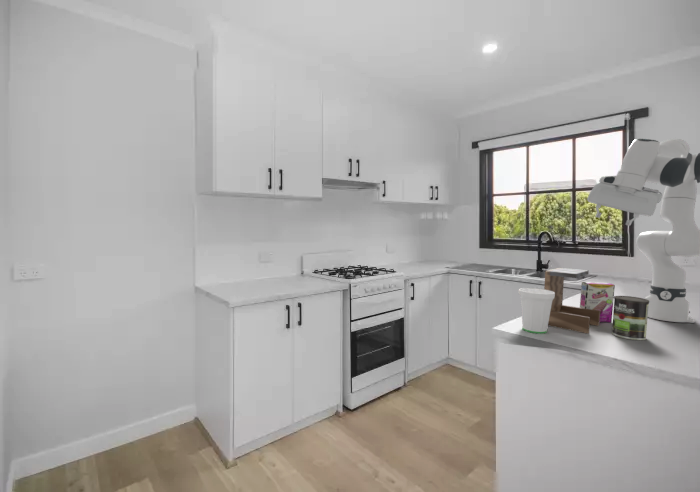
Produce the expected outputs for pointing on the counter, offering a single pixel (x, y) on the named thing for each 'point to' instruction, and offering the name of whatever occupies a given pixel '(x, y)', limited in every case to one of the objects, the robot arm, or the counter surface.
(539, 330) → the cup
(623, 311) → the coffee can
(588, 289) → the candy bar box
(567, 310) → the wooden caddy stand
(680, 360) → the counter surface
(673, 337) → the counter surface
